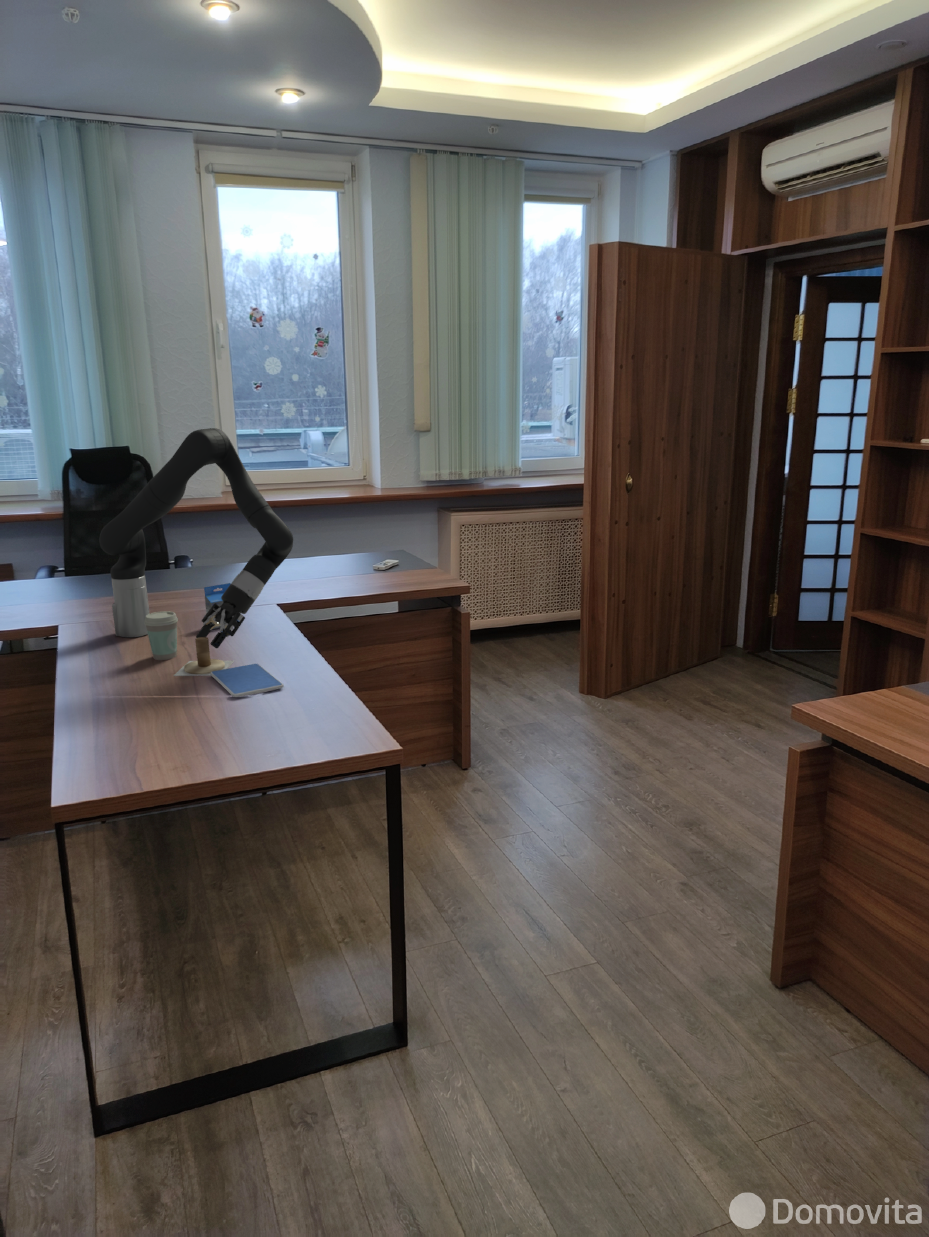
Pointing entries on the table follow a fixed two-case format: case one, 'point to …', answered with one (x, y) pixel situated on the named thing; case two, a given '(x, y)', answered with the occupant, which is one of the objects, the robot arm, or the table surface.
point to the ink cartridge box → (214, 597)
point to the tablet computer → (246, 680)
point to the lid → (203, 659)
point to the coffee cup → (162, 634)
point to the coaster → (183, 673)
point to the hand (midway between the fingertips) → (206, 643)
